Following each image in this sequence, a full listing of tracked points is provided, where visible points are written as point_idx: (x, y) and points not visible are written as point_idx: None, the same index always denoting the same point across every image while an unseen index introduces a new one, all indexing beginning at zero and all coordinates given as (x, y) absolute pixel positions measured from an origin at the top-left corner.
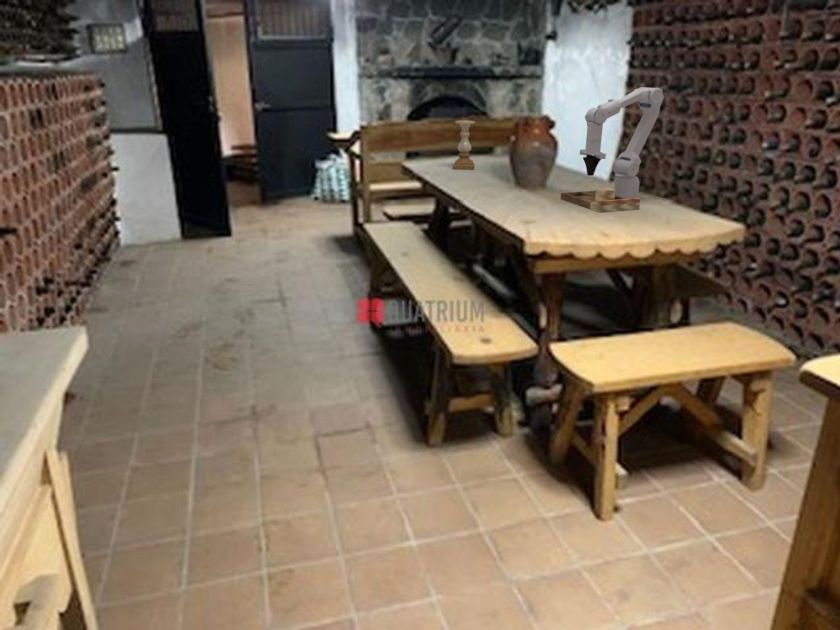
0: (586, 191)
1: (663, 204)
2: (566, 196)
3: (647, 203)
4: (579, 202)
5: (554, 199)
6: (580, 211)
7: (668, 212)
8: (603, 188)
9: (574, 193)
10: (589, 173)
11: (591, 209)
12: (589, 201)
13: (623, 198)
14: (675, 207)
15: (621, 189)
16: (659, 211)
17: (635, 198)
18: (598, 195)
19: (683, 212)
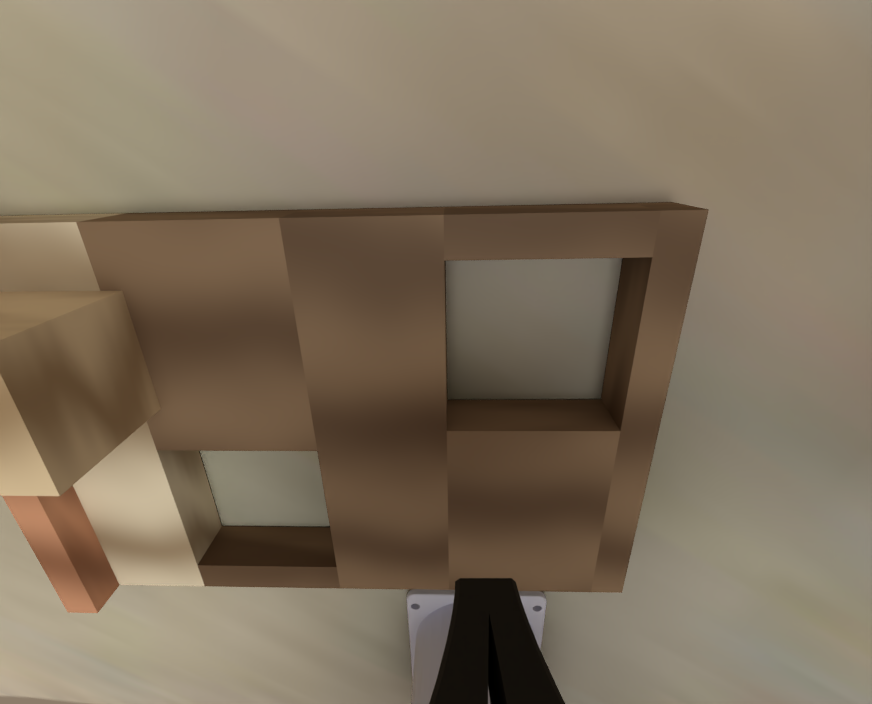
0: (628, 494)
1: (250, 697)
2: (570, 210)
3: (291, 657)
4: (302, 213)
5: (690, 119)
6: (8, 37)
7: (28, 617)
8: (12, 437)
9: (629, 360)
10: (453, 612)
11: (104, 214)
12: (141, 245)
13: (252, 572)
14: (166, 699)
15: (431, 679)
16: (54, 596)
17: (72, 588)
18: (2, 317)
19: (34, 667)
